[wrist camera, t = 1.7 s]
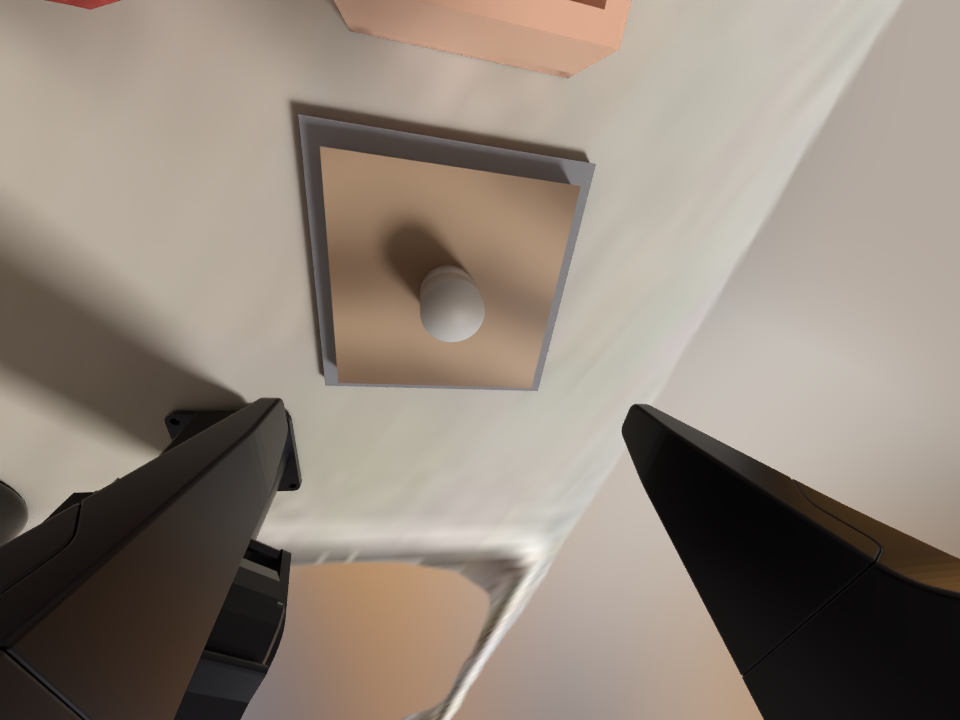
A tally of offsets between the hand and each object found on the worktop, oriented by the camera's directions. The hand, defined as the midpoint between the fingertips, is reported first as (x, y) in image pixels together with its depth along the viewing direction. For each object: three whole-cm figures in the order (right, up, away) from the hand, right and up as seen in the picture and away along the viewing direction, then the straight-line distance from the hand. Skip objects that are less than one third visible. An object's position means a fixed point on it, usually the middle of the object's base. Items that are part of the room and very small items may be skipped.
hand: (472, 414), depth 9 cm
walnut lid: (-2, +5, +9) cm, 11 cm away
